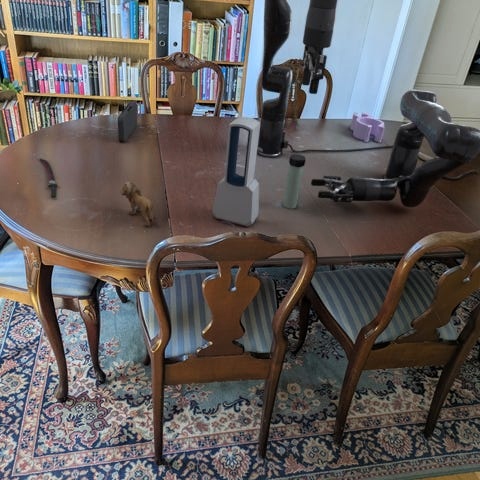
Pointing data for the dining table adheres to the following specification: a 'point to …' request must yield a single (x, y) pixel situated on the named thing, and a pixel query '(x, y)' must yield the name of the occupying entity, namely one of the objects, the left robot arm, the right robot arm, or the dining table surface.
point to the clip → (367, 127)
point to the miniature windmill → (295, 93)
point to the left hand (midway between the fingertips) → (308, 89)
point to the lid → (297, 160)
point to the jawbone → (424, 157)
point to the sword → (52, 181)
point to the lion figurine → (137, 201)
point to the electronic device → (239, 178)
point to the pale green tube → (292, 186)
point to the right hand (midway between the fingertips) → (314, 188)
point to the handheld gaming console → (127, 121)
